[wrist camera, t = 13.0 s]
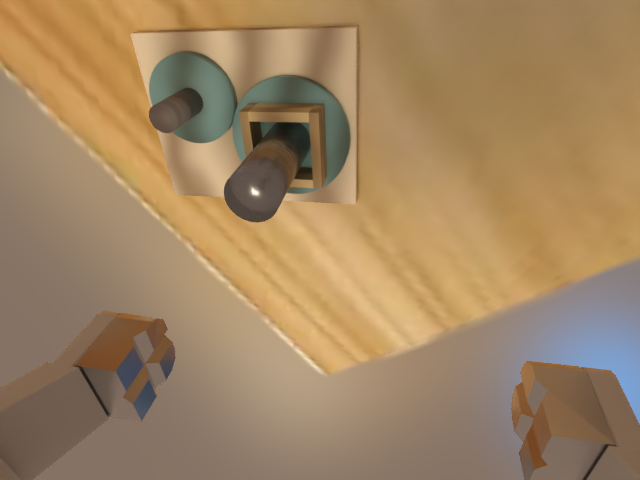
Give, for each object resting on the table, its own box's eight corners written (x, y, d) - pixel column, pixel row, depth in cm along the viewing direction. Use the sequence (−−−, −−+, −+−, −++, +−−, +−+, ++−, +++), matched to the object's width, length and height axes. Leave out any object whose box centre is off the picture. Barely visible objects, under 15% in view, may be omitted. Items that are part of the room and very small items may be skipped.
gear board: (358, 25, 33) (345, 40, 27) (357, 198, 42) (347, 238, 36) (137, 31, 37) (83, 45, 31) (180, 189, 46) (145, 224, 40)
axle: (309, 119, 36) (275, 172, 27) (312, 161, 38) (281, 223, 29) (266, 118, 37) (218, 170, 28) (271, 160, 39) (229, 220, 30)
